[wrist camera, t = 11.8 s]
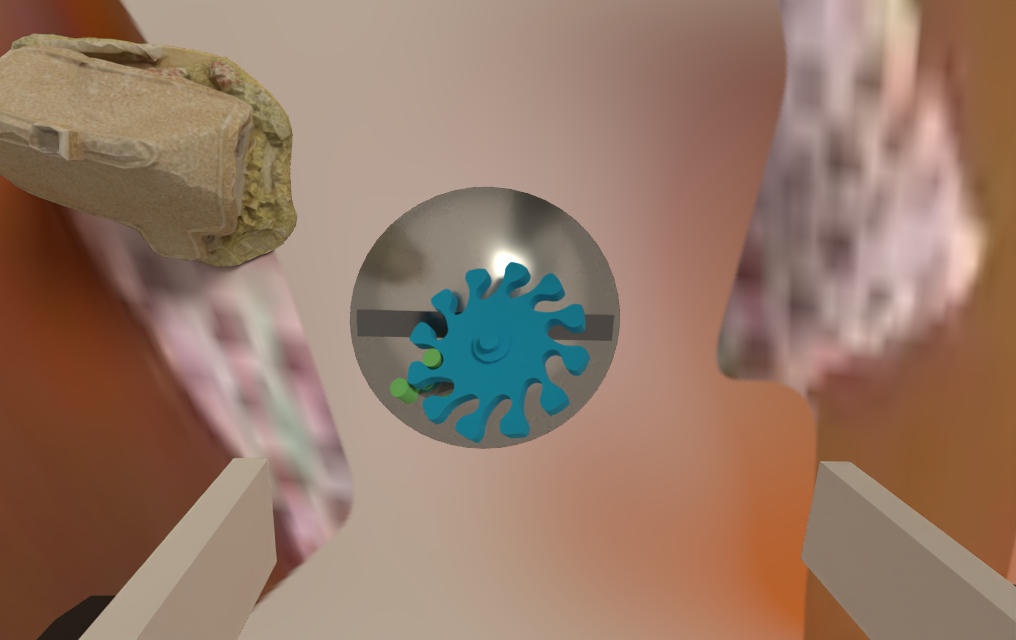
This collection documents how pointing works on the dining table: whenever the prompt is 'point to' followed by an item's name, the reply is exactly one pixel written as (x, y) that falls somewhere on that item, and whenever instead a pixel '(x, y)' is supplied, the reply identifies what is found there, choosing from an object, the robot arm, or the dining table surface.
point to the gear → (493, 353)
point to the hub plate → (443, 265)
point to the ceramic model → (150, 143)
